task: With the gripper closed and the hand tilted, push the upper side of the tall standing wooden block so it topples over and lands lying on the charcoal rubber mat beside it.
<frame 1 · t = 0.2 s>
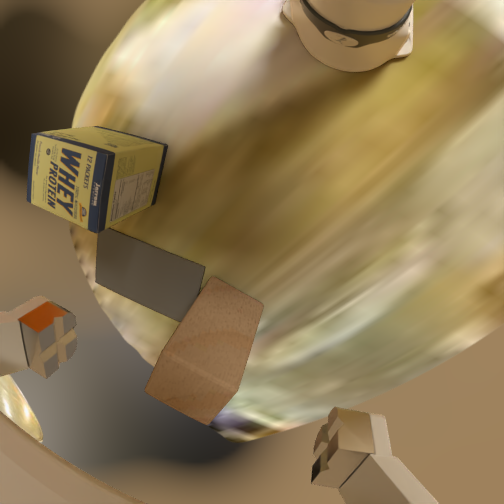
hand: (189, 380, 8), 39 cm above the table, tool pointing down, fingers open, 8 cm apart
wooden block: (226, 309, 54), on the table, touching mat
protein box: (124, 163, 49), on the table
mat: (143, 275, 56), on the table
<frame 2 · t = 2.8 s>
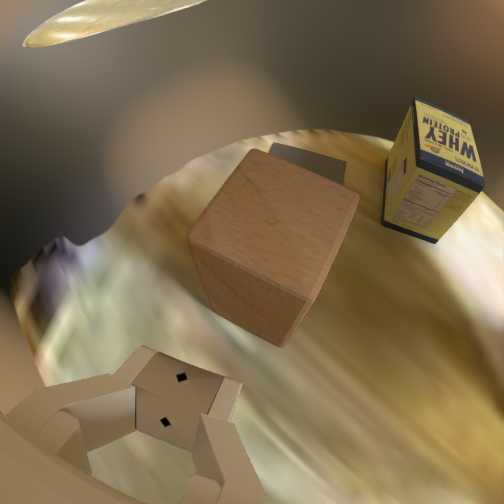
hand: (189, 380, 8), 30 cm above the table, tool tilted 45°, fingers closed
wooden block: (265, 297, 41), on the table, touching mat
protein box: (409, 200, 49), on the table
mat: (296, 199, 48), on the table
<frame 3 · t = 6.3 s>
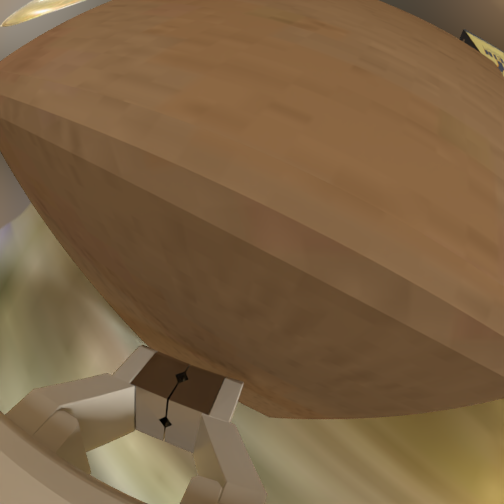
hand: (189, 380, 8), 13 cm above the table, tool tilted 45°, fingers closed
wooden block: (245, 326, 22), on the table, touching gripper, mat
protein box: (459, 174, 31), on the table
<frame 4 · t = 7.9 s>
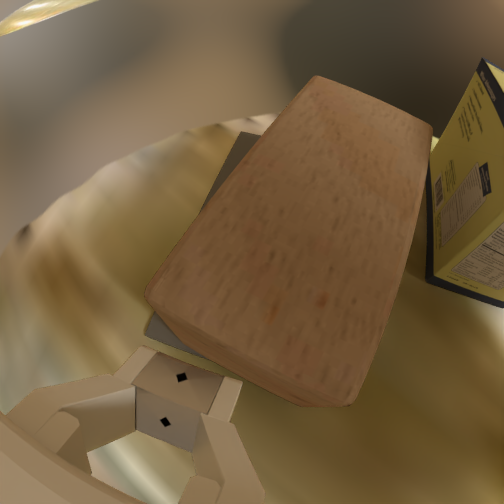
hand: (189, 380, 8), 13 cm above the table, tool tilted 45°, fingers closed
wooden block: (238, 372, 16), point 5 cm above the table, touching mat
protein box: (464, 231, 28), on the table
mat: (273, 236, 26), on the table
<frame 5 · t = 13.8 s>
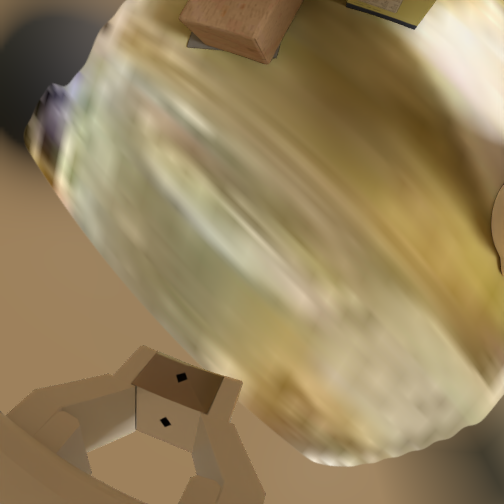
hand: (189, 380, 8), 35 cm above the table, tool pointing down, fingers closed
wooden block: (225, 43, 32), point 5 cm above the table, touching mat
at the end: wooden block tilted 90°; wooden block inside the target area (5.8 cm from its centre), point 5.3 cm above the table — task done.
